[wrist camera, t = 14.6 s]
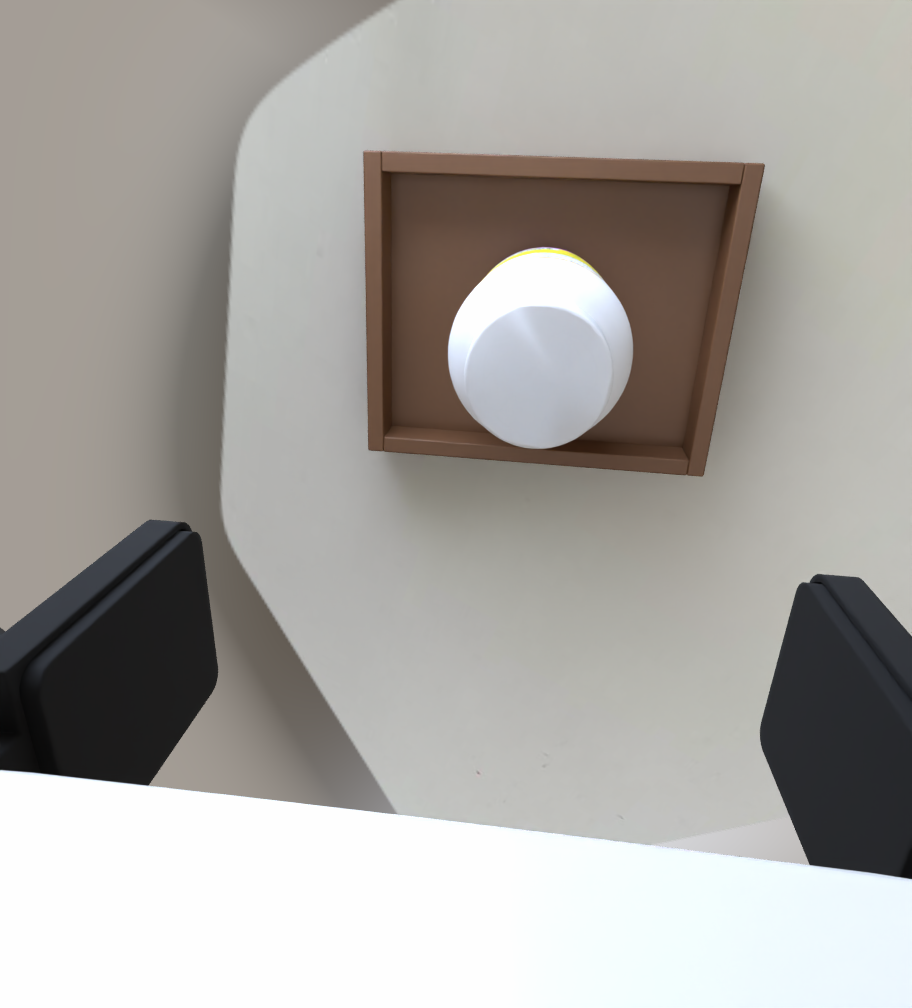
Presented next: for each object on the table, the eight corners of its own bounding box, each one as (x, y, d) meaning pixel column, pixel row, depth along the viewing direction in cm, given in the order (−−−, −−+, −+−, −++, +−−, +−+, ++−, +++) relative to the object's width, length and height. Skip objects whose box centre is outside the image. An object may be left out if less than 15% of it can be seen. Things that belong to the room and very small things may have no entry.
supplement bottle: (558, 411, 35) (561, 516, 23) (448, 339, 34) (393, 410, 22) (641, 296, 32) (692, 348, 20) (523, 215, 31) (506, 221, 20)
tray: (379, 435, 37) (367, 450, 35) (377, 154, 32) (363, 150, 29) (693, 459, 35) (703, 477, 33) (749, 166, 30) (765, 163, 27)
